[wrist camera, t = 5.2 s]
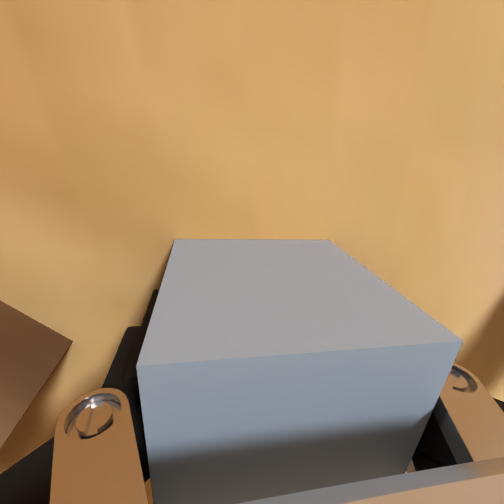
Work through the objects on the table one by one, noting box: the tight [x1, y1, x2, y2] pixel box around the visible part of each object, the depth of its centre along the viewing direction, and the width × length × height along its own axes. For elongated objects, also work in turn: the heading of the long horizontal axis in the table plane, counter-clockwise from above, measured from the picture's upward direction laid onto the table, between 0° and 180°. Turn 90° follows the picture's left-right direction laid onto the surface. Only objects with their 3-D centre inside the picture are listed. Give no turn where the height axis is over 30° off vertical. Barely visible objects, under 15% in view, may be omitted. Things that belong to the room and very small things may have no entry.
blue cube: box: [136, 239, 463, 504], centre depth 8 cm, size 6×6×6 cm
